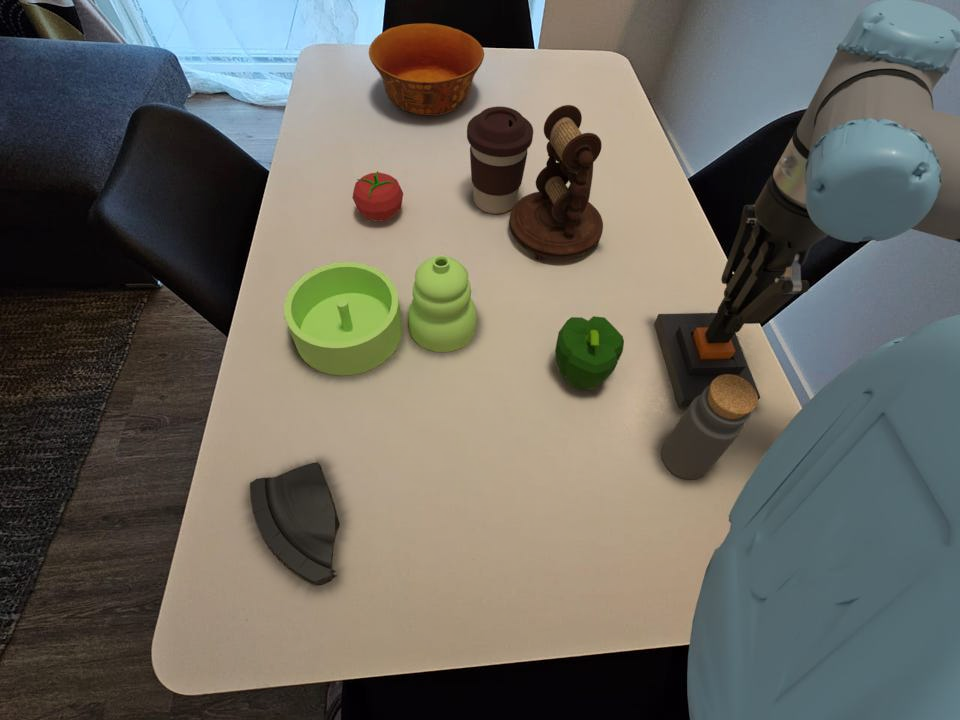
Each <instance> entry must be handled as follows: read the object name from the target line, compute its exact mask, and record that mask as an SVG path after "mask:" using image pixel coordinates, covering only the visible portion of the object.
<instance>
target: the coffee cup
mask: <svg viewBox="0 0 960 720" xmlns="http://www.w3.org/2000/svg"><path fill="white" fill-rule="evenodd" d="M533 138H534V128H533V124H532V123H531V122H530V121H529V120H528V119H527V118H526V117H525V116H523V115H522V114H521V113H520V112H519V111H518V110H516V109H514V108H511V107H508V106H499V105H498V106H491V107H487V108H485V109H483V110H482V111H481V112H479V113H478V114H475V115H474V116H473V117H472V118H471V119H470V120H469V121H468V123H467V126H466V139H467V141H468V143H469V145H470V148H469V157H470V159H469V160H470V178H471V179H470V180H471V183H472V191H473V192H472V193H473V201H474V203H475V205H476V206H477V208H479V209H480V210H481V211H483V212H486V213H489V214H494V215H495V214H504V213H507V212H509V211H511V210H512V208H513V207H514V205H515V204H516V203H517V202H518V196H519V192H520V188H521V185H522V183H523V179H524V173H525V167H526V162H527V158H528V149H529V148H530V147H531V145H532V144H533V140H534V139H533Z"/></svg>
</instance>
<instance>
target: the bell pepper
mask: <svg viewBox="0 0 960 720" xmlns="http://www.w3.org/2000/svg"><path fill="white" fill-rule="evenodd" d="M624 344H625V340H624V337H623V335H622V334H621V333H620V332H619V330H617V328H616V327H615V326H614V325H613V324H612V323H611V322H610V321H609V320H608V319H607V317H605V316H595V315H593V316H592V317H590V319H589V320H588V319H586V318H584V317H579V316H578V317H577V316H571V317H570V318H568V319H567V320H566V322H565V323H564V324H563V326H562V327H561V328H560V330H559V331H558V333H557V339H556V344H555V350H554V353H555V354H554V355H555V363H556V367H557V369H558V371H559V373H560V374H561V375H562V377H564V378H565V380H566V382H568V383H569V384H570V386H572V387H573V388H575V389H580V390H584V391H587V390H588V391H589V390H591V389H596V388H597V387H598V386H599V385H601V384H602V383H603V382H604V381H605V380H606V379H607V378H609V376H610V375H611V374H613V372H614V371H615V369H616V368H617V365H618V364H619V363H618V362H619V361H620V358H621V356H622V354H623V351H624V346H625V345H624Z"/></svg>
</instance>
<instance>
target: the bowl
mask: <svg viewBox="0 0 960 720" xmlns="http://www.w3.org/2000/svg"><path fill="white" fill-rule="evenodd" d="M368 57H369V60H370V62H371V64H372V65H373V67H374V68H375V70H376V71H377V72H378V74H379V75H380V77H381V79H382V82H383V86H384V90H385V93H386V95H387V97H388V99H389V100H390V101H391V103H393V104H394V105H395V106H396V107H397V108H399V109H401V110H404V111H405V112H408V113H412V114H416V115H420V116H438V115H444V114H447V113H450V112H454V111H455V110H457V109H458V108H459V107H461V106H462V105H463V104H465V102H466V101H467V100H468V98H469V96H470V94H471V90H472V85H473V80H474V77H475V75H476V73H477V72H478V70H479V68H480V67H481V65H482V63H483V61H484V58H485V50H484V47H483V46H482V45H481V43H480V42H479V41H478V40H477V39H476V38H474V37H473V36H472V35H470V34H469V33H467V32H464V31H462V30H460V29H458V28H454V27H451V26H448V25H443V24H437V23H430V22H429V23H428V22H425V23H424V22H423V23H408V24H401V25H398V26H394V27H390V28H388V29H385V30H384V31H382V32H381V33H380V34H378V35H377V36H376V37H375V38H374V39H373V41H372V42H371V44H370V46H369V48H368Z"/></svg>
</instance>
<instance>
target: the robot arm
mask: <svg viewBox="0 0 960 720" xmlns="http://www.w3.org/2000/svg"><path fill="white" fill-rule="evenodd" d="M959 52H960V20H959V19H958V18H957V17H955V16H954V15H952V14H951V13H950V12H948V11H946V10H944V9H942V8H940V7H937V6H935V5H932V4H929V3H926V2H921V1H916V0H880V1H879V0H878V1H876V2H872V3H871V4H869V5H868V6H866V7H865V8H863V10H861V11H860V13H858V15H857V17H856V18H855V20H854V22H853V24H852V25H851V27H850V28H849V30H848V32H847V34H846V35H845V37H844V38H843V40H842V41H841V42H840V43H838V44H837V46H836V53H835V54H834V56H833V58H832V60H831V62H830V64H829V66H828V68H827V69H826V72H825V73H824V75H823V78H822V80H821V81H820V83H819V85H818V87H817V89H816V91H815V93H814V94H813V97H812V99H811V100H810V102H809V105H808V106H807V108H806V110H805V112H804V114H803V116H802V117H801V120H800V121H799V123H798V125H797V127H796V128H795V130H794V132H793V133H792V136H791V138H790V140H789V142H788V144H787V145H786V147H785V149H784V151H783V153H782V154H781V156H780V158H779V160H778V161H777V163H776V165H775V166H774V169H773V173H772V174H771V175H770V176H769V177H768V178H767V180H766V183H765V184H764V186H763V188H762V190H761V191H760V193H759V195H758V198H757V199H756V200H755V203H754V204H745V205H744V206H743V208H742V212H741V218H740V224H739V228H738V231H737V232H736V236H735V239H734V241H733V244H732V247H731V249H730V252H729V254H728V258H727V261H726V263H725V266H724V269H723V272H722V275H721V278H720V279H721V280H720V281H721V284H723V285H724V284H725V289H724V291H723V298H722V300H721V302H720V304H719V306H718V308H717V311H716V313H717V314H716V316H715V318H714V319H713V321H712V323H711V324H710V326H709V328H708V329H707V331H706V333H705V336H706V339H707V341H708V343H729V341H730V340H731V338H732V337H733V335H734V334H735V333H736V334H737V333H738V332H740V331H741V329H742V328H743V326H744V325H753V324H758V325H759V324H762V323H764V322H765V321H766V320H767V319H769V318H770V317H771V316H772V315H774V313H776V312H777V311H778V310H780V309H781V307H783V306H784V305H785V304H786V303H787V302H789V301H790V300H791V299H792V298H793V297H794V296H797V295H800V294H804V293H807V292H808V291H809V290H810V282H809V280H806V279H804V280H803V279H802V273H801V267H802V266H803V265H804V264H805V263H806V262H807V260H808V256H809V252H810V250H811V248H812V247H813V246H815V245H816V244H817V243H819V242H820V241H823V240H824V239H825V238H827V237H828V236H829V237H832V238H834V239H836V240H839V241H843V242H847V243H859V242H870V241H875V242H882V241H887V240H891V239H893V238H896V237H898V236H900V235H902V234H905V233H906V232H909V230H912V231H913V230H914V231H917V232H921V233H925V234H929V235H930V236H931V235H932V236H936V237H940V238H943V239H946V240H949V241H955V242H958V243H960V116H959V115H955V114H951V113H947V112H942V111H938V110H934V98H933V96H934V95H933V91H934V89H935V87H936V86H937V84H938V82H940V80H941V79H942V78H943V76H944V75H947V74H948V72H950V70H951V68H950V67H951V65H952V63H953V61H954V60H955V59H956V56H957V55H958V53H959ZM728 522H729V523H730V526H729V531H728V533H727V534H726V536H725V538H724V540H723V541H722V543H721V544H720V545H719V546H718V547H717V548H715V549H714V552H713V553H712V556H711V558H710V559H709V562H708V565H707V567H706V569H705V573H704V575H703V579H702V582H701V586H700V589H699V593H698V597H697V601H696V605H695V609H694V613H693V618H692V622H691V630H690V638H689V646H688V654H687V673H686V677H687V678H686V683H687V684H686V687H687V689H686V690H687V693H686V694H687V695H686V696H687V704H688V714H689V720H960V313H959V314H956V315H952V316H948V317H944V318H940V319H937V320H935V321H932V322H931V323H929V324H926V325H924V326H922V327H921V328H919V329H918V330H916V331H914V332H911V334H909V335H906V336H900V337H896V338H894V339H892V340H889V341H887V342H886V343H884V344H882V345H880V346H878V347H876V348H874V349H873V350H871V351H869V352H868V353H866V354H865V355H863V356H862V357H860V358H859V359H857V360H856V361H855V362H853V363H852V364H850V365H849V366H848V367H847V368H846V369H843V370H842V371H841V372H840V373H839V374H837V375H836V376H835V377H834V378H833V379H831V380H830V381H828V382H827V384H826V385H824V387H822V388H821V389H820V390H819V391H818V392H817V393H816V394H815V395H814V396H813V397H812V398H811V399H809V401H807V403H805V405H804V406H803V407H802V408H801V409H799V411H798V412H797V413H796V414H795V416H794V417H793V418H792V419H791V420H790V421H789V422H788V424H787V425H786V426H785V427H784V428H783V429H782V431H781V432H780V434H779V435H778V436H777V437H776V438H775V439H774V440H773V442H772V444H771V445H769V447H768V449H767V450H766V452H765V453H764V454H763V455H762V457H761V458H760V460H759V462H758V463H757V465H756V466H755V468H754V470H753V471H752V472H751V475H750V476H749V478H748V479H747V481H746V482H745V484H744V486H743V487H742V489H741V491H740V493H739V494H738V496H737V498H736V500H735V502H734V504H733V505H732V508H731V510H730V512H729V514H728Z"/></svg>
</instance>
